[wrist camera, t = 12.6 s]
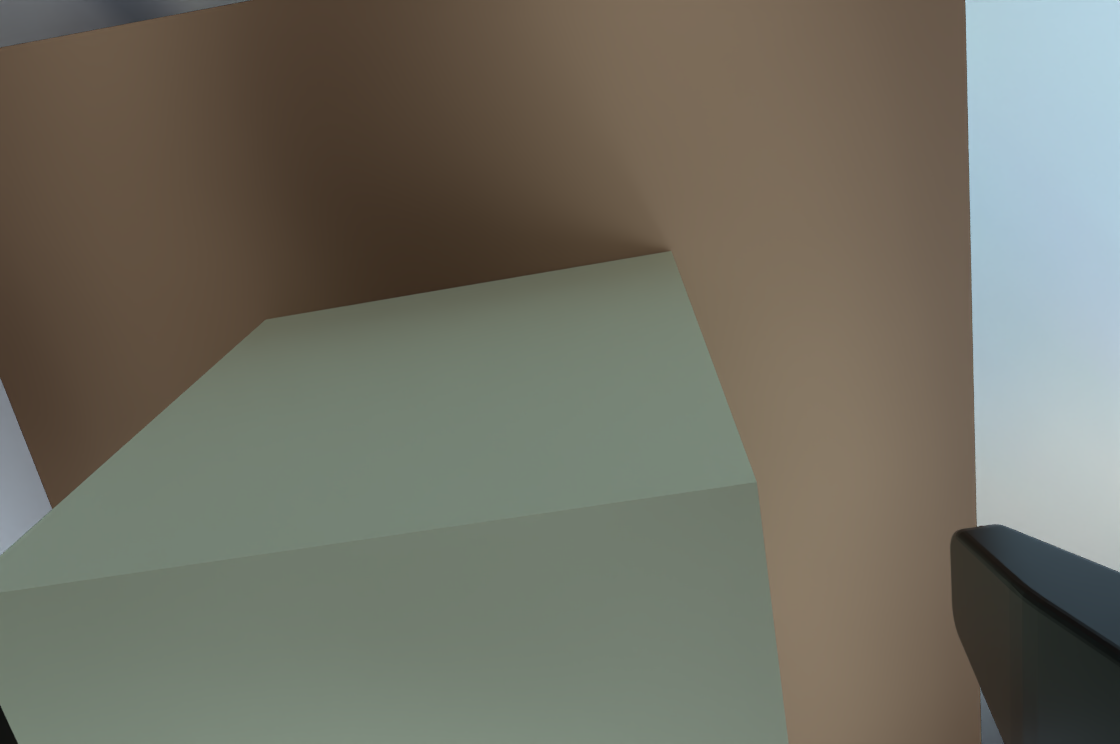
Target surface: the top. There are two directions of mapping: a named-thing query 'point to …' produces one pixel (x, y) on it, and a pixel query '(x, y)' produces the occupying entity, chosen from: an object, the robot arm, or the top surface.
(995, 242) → the top surface
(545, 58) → the brown flat block
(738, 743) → the sage block
